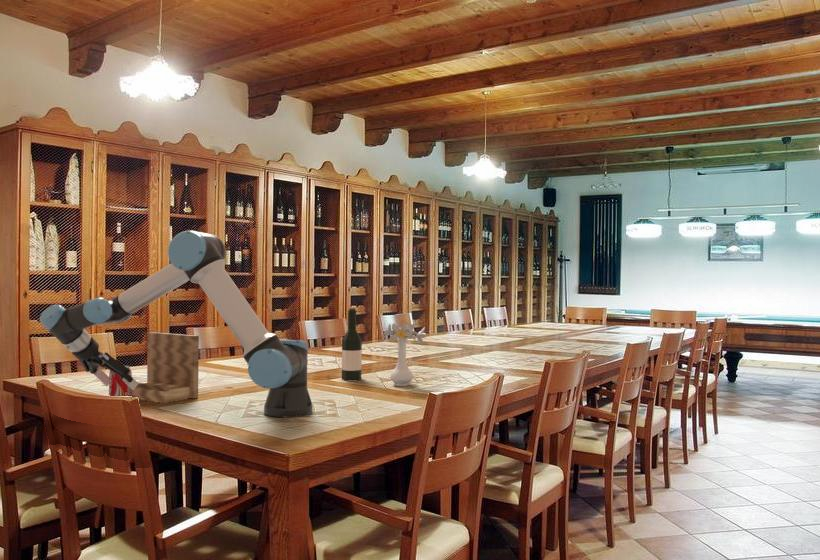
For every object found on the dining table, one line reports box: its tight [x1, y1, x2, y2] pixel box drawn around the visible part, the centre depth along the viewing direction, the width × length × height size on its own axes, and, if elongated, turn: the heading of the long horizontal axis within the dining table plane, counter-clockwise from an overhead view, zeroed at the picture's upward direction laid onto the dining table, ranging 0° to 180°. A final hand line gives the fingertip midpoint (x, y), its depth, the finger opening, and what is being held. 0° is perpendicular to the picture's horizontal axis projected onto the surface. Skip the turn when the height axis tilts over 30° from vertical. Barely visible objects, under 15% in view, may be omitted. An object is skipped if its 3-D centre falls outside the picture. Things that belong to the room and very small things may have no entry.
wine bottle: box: [341, 307, 363, 381], centre depth 269 cm, size 8×8×30 cm
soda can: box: [108, 365, 133, 396], centre depth 216 cm, size 7×7×12 cm
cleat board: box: [132, 331, 200, 404], centre depth 224 cm, size 24×12×22 cm, turn 61°
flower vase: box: [381, 322, 427, 387], centre depth 257 cm, size 13×18×25 cm
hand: (122, 384), depth 217 cm, fingers open, 13 cm apart
